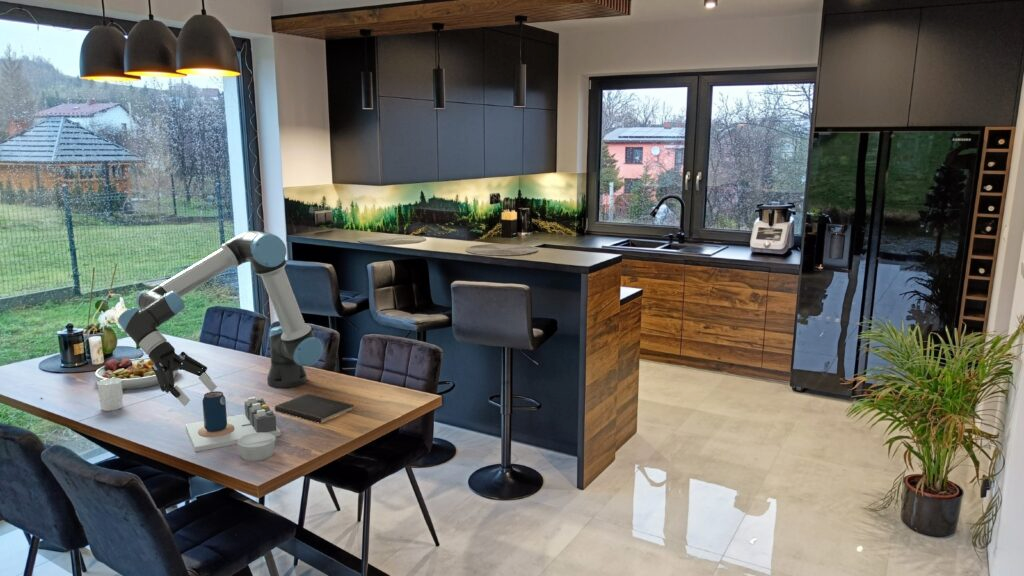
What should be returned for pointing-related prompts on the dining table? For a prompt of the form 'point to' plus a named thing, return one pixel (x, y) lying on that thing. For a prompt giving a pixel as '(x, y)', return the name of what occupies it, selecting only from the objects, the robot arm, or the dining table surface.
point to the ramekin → (256, 446)
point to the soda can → (214, 411)
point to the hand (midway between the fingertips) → (201, 396)
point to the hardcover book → (313, 407)
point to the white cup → (110, 393)
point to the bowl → (130, 372)
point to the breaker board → (235, 427)
